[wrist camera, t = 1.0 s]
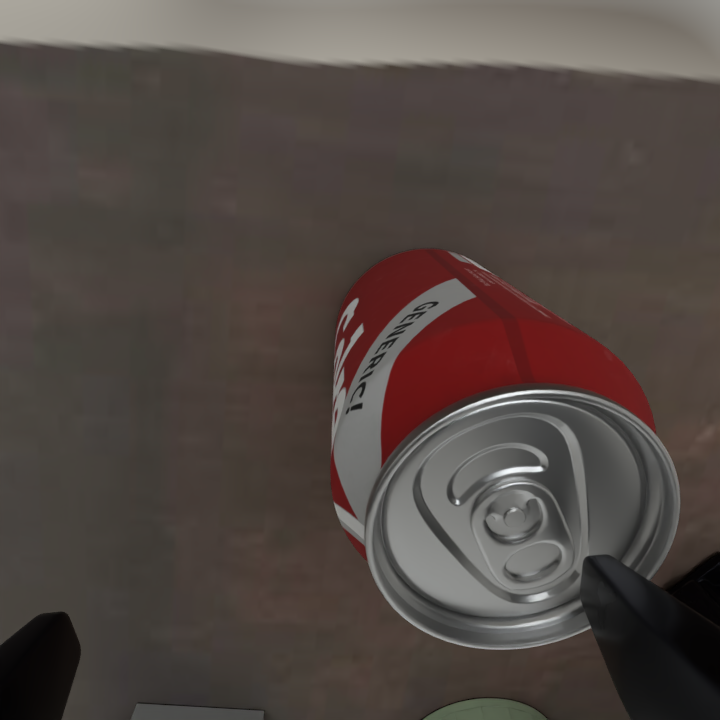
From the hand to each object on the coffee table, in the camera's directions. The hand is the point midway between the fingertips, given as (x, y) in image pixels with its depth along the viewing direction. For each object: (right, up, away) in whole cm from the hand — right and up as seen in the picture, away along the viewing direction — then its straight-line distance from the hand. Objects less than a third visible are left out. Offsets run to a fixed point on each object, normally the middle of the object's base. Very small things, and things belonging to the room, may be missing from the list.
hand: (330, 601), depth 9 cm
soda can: (+3, +5, +11) cm, 13 cm away
